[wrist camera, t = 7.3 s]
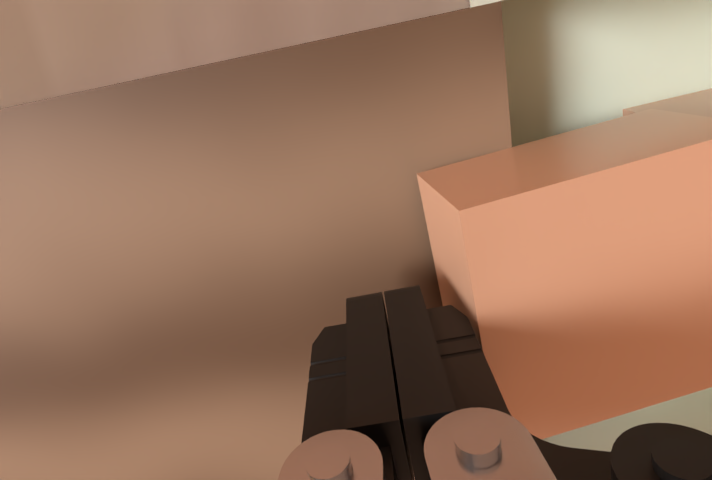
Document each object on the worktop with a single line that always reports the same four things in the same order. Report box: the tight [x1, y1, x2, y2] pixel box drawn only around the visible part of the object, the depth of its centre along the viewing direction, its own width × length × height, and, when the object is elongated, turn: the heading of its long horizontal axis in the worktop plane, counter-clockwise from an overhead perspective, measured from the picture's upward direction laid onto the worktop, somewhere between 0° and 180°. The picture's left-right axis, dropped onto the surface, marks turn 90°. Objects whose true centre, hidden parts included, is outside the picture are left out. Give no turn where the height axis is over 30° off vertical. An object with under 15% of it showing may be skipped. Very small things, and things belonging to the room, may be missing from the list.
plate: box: [0, 1, 512, 480], centre depth 13 cm, size 11×17×2 cm, turn 101°
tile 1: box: [417, 109, 712, 439], centre depth 10 cm, size 5×5×2 cm
